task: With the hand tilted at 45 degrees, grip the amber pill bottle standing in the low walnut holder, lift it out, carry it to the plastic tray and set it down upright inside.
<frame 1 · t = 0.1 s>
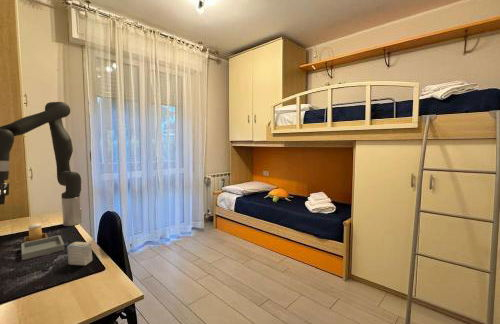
medicine box: (80, 263, 106), on the table
pill bottle: (35, 233, 125), in the holder
tray: (43, 249, 117), on the table
holder: (36, 241, 126), on the table
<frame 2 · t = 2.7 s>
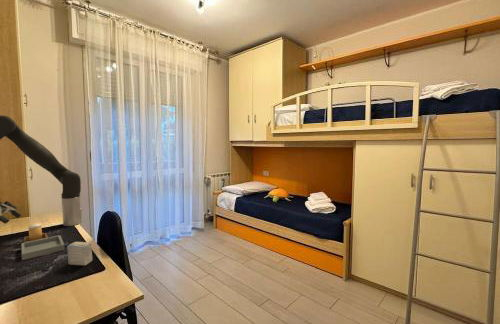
hand: (13, 219, 123), 13 cm above the table, tool tilted 45°, fingers open, 8 cm apart
nothing on the table moved.
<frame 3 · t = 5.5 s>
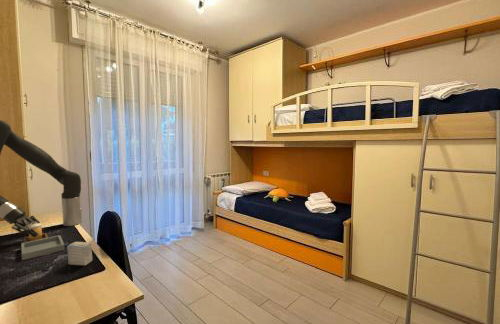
hand: (39, 233, 126), 4 cm above the table, tool tilted 45°, fingers closed on pill bottle, 5 cm apart
pill bottle: (35, 233, 125), in the holder, touching gripper
everything else where it was.
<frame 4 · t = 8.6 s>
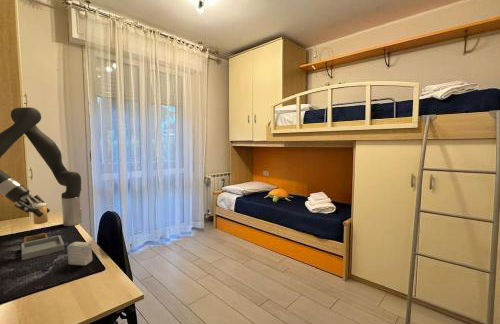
hand: (44, 213, 116), 18 cm above the table, tool tilted 45°, fingers closed on pill bottle, 5 cm apart
pill bottle: (40, 213, 115), point 18 cm above the table, touching gripper
everything else where it was.
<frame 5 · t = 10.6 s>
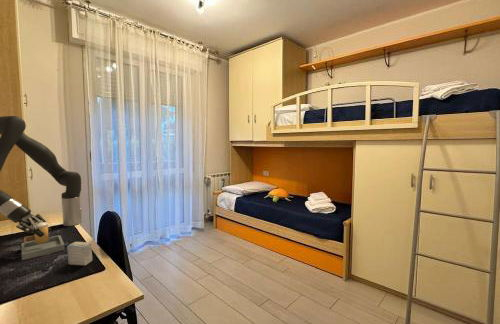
hand: (46, 233, 117), 8 cm above the table, tool tilted 45°, fingers closed on pill bottle, 5 cm apart
pill bottle: (41, 232, 116), point 8 cm above the table, touching gripper
everything else where it was.
when the fingers open (6 cm above the table, at t = 12.0 s): pill bottle drops 1 cm, resting on tray.
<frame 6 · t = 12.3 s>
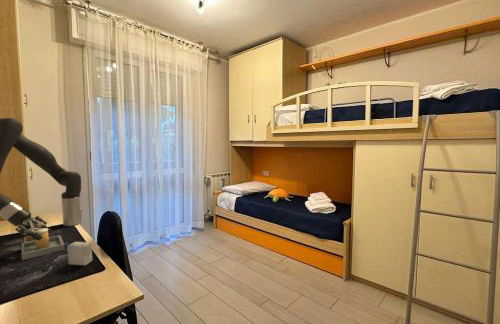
hand: (45, 235, 117), 7 cm above the table, tool tilted 45°, fingers open, 7 cm apart
pill bottle: (41, 238, 117), in the tray, point 5 cm above the table
everything else where it was.
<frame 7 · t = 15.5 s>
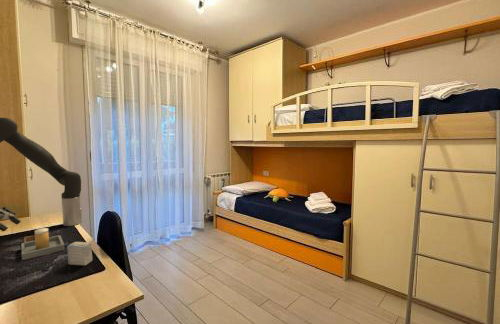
hand: (12, 226, 113), 12 cm above the table, tool tilted 45°, fingers open, 8 cm apart
nothing on the table moved.
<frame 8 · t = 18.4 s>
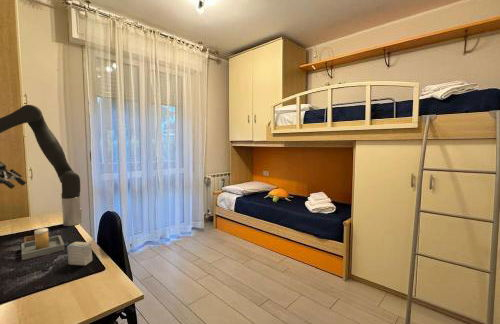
hand: (19, 185, 127), 29 cm above the table, tool tilted 45°, fingers open, 8 cm apart
nothing on the table moved.
at the end: pill bottle inside the target area on the tray (0.2 cm from its centre), point 5.3 cm above the tray's base; pill bottle tilted 1°; the gripper is holding nothing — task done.
